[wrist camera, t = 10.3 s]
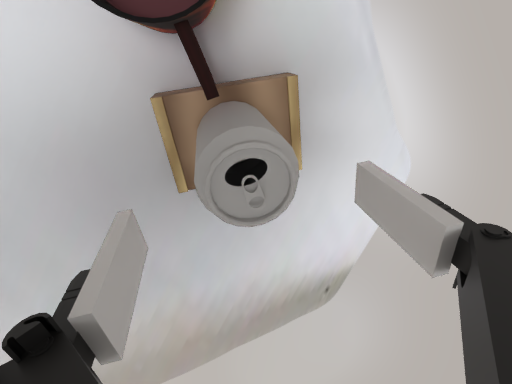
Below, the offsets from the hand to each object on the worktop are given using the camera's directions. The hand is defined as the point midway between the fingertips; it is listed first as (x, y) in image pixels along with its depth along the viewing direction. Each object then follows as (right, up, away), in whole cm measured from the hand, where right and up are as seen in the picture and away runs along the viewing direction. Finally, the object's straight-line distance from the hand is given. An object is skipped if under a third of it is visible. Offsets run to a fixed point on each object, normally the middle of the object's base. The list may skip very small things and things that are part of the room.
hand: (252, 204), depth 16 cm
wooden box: (-3, +8, +15) cm, 17 cm away
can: (-2, +7, +12) cm, 14 cm away
